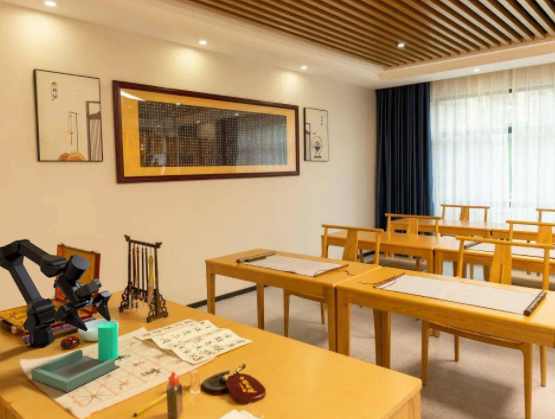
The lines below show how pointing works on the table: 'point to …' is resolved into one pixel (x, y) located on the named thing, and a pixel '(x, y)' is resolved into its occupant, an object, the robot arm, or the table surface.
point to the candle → (107, 341)
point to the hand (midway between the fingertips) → (98, 325)
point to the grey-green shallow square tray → (72, 371)
